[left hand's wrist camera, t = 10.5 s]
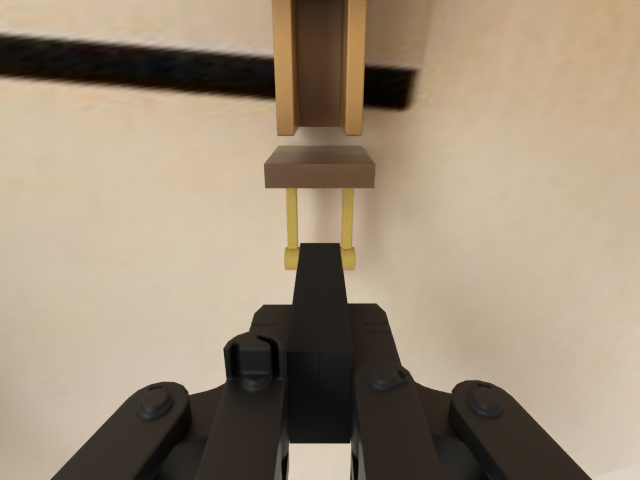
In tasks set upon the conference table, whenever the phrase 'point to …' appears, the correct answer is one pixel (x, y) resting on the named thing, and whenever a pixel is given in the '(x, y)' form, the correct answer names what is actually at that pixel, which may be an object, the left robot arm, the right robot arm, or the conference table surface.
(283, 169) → the drawer
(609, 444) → the conference table surface
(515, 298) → the conference table surface
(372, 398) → the left robot arm
